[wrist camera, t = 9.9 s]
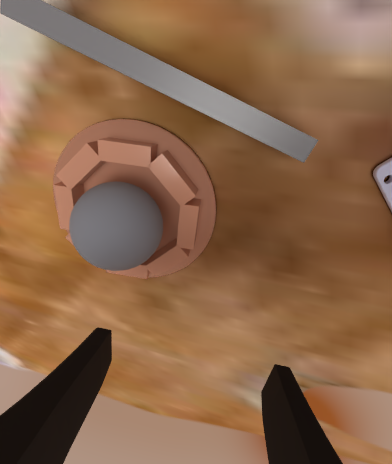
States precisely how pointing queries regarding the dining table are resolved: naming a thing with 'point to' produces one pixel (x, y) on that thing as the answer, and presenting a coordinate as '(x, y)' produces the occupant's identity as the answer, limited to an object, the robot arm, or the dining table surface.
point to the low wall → (158, 75)
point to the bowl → (142, 185)
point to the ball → (116, 226)
